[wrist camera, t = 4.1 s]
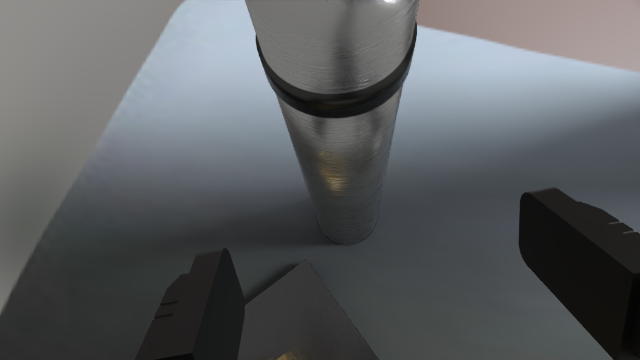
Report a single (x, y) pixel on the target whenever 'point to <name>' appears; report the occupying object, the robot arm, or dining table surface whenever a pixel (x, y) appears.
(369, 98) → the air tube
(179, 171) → the dining table surface
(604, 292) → the robot arm
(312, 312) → the collar stand
